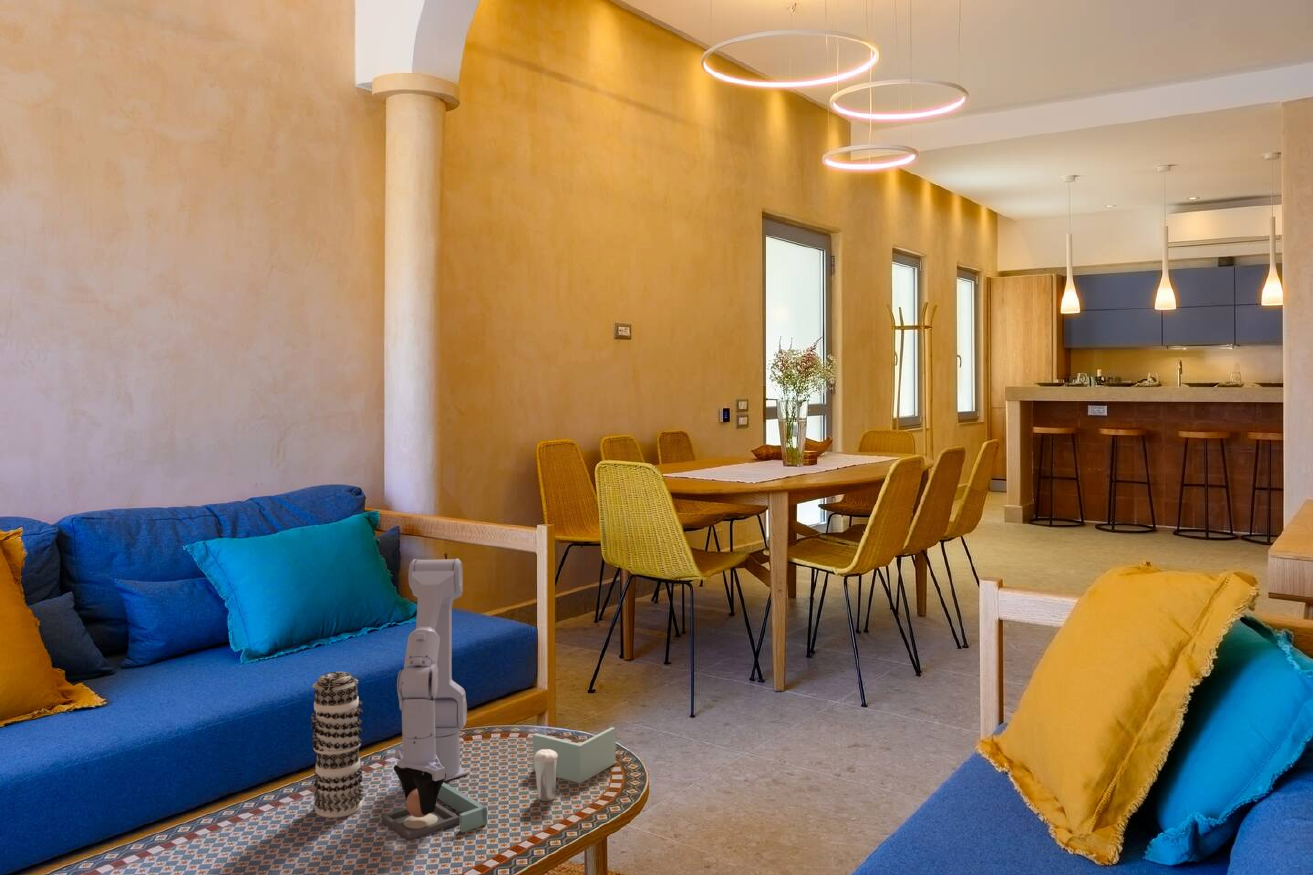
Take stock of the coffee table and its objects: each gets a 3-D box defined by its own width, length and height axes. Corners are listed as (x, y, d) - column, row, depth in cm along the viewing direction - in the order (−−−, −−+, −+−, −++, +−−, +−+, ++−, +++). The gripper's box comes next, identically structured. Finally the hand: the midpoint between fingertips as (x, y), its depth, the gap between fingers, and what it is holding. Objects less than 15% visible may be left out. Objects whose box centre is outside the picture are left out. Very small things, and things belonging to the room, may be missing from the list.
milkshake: (558, 804, 185) (557, 751, 184) (531, 801, 186) (530, 749, 185) (565, 794, 189) (565, 742, 189) (538, 792, 190) (538, 740, 190)
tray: (381, 821, 178) (381, 815, 178) (431, 805, 184) (431, 799, 184) (408, 840, 170) (408, 834, 170) (459, 823, 177) (459, 816, 177)
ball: (401, 815, 178) (400, 788, 177) (426, 807, 181) (425, 780, 181) (414, 824, 174) (414, 797, 174) (440, 816, 177) (439, 789, 177)
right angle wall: (615, 763, 205) (615, 727, 204) (580, 783, 194) (580, 746, 194) (569, 751, 211) (569, 717, 211) (533, 770, 201) (532, 734, 201)
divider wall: (415, 802, 186) (414, 786, 186) (438, 794, 189) (438, 779, 189) (462, 832, 173) (462, 815, 173) (487, 823, 177) (486, 807, 177)
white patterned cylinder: (374, 806, 184) (371, 674, 183) (329, 823, 177) (325, 685, 176) (348, 792, 190) (345, 664, 189) (303, 808, 184) (300, 675, 182)
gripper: (379, 728, 179) (380, 801, 180) (418, 750, 168) (420, 827, 169) (414, 719, 184) (416, 790, 185) (455, 739, 173) (456, 815, 174)
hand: (420, 807), depth 177 cm, fingers closed on ball, 5 cm apart
